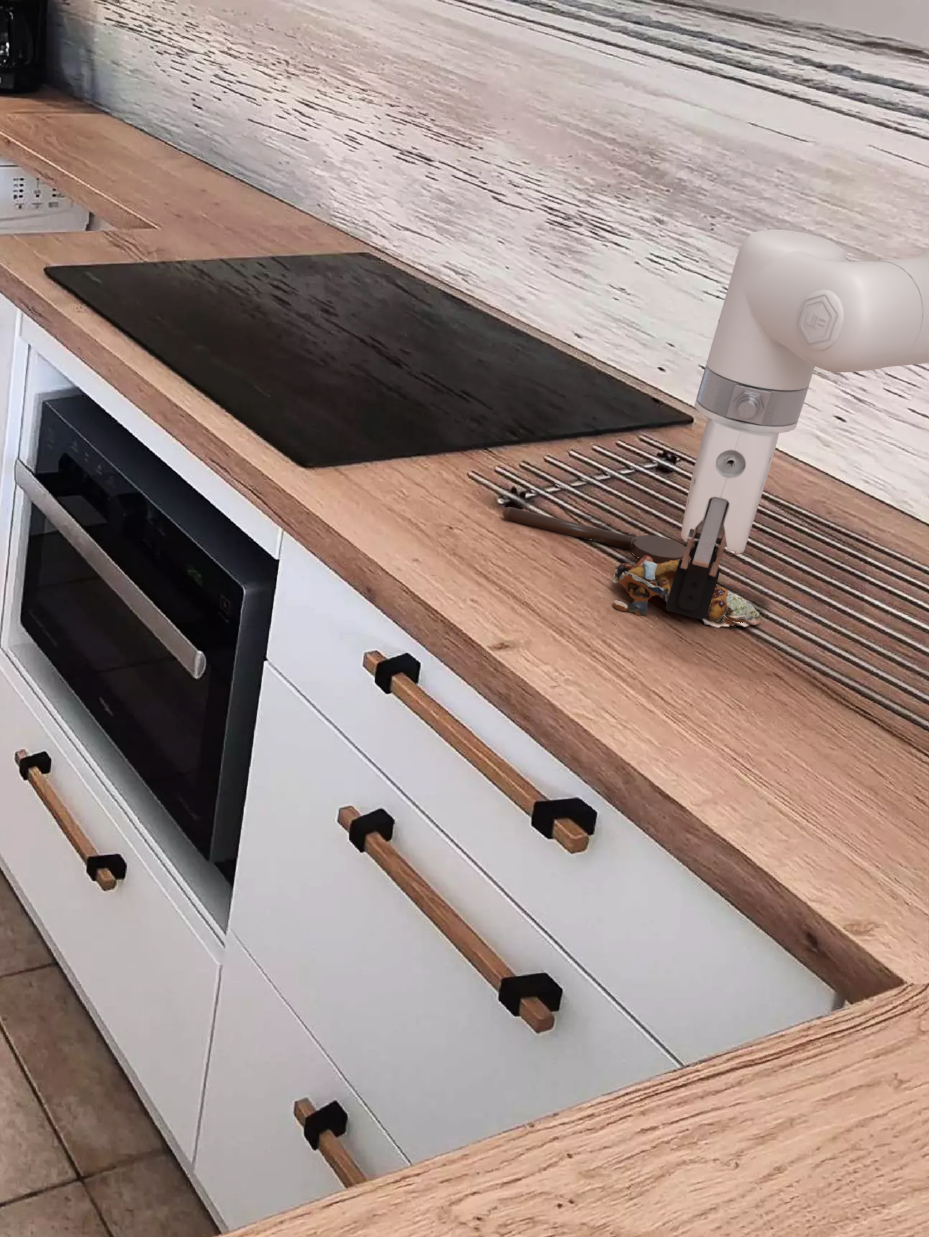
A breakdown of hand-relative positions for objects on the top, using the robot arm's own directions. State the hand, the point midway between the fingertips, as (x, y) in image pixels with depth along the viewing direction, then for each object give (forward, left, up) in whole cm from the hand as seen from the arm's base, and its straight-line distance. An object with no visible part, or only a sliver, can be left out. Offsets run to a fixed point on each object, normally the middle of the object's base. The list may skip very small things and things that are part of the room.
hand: (685, 611), depth 137 cm
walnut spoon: (+9, -14, -2) cm, 17 cm away
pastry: (0, -4, -2) cm, 5 cm away
